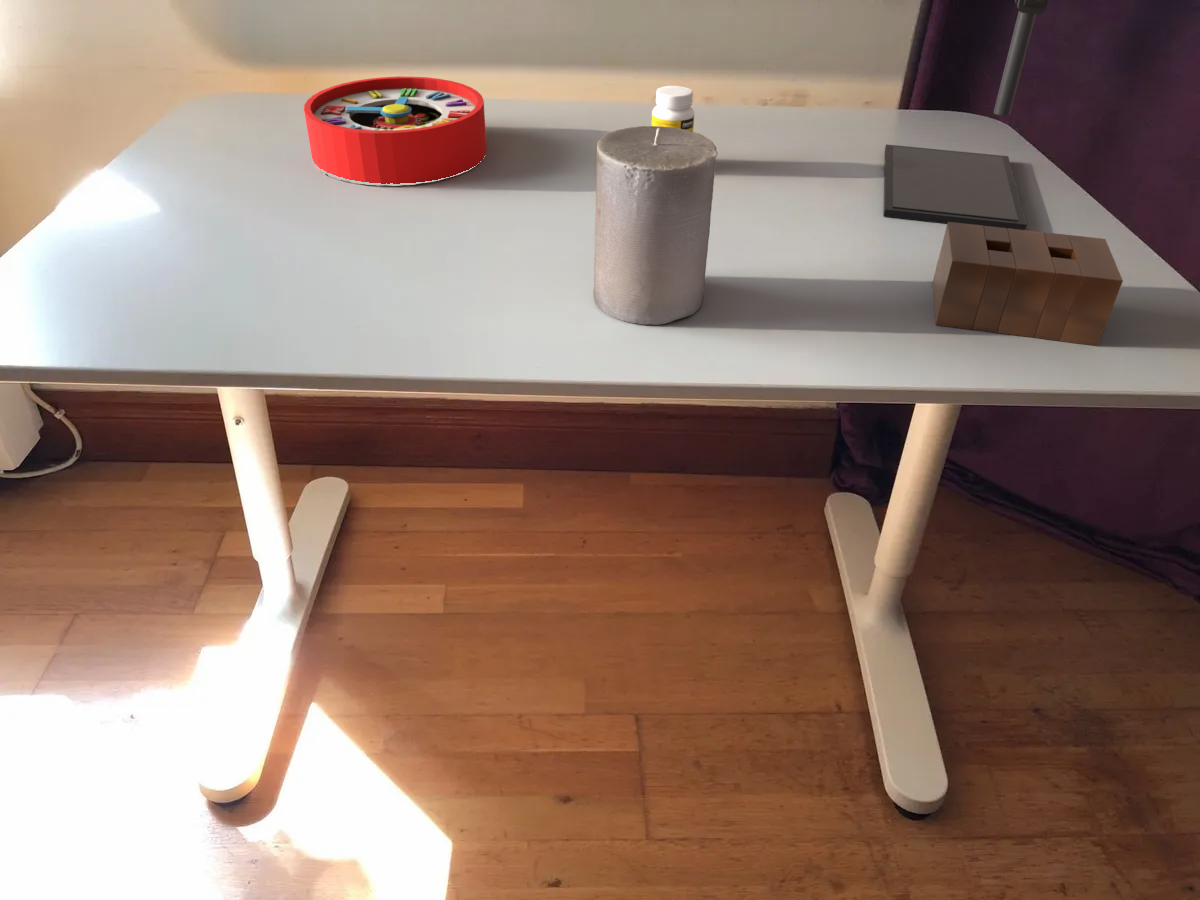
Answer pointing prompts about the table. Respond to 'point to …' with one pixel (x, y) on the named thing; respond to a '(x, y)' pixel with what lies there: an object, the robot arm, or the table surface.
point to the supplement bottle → (674, 108)
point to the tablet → (951, 187)
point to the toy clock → (396, 129)
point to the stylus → (1014, 63)
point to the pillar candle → (652, 222)
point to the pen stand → (1025, 283)
